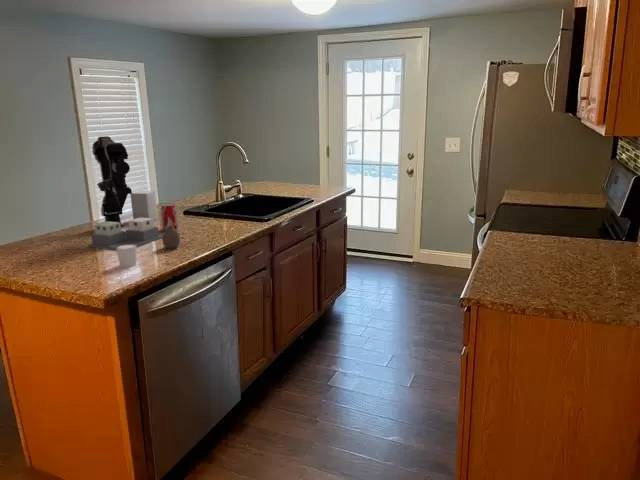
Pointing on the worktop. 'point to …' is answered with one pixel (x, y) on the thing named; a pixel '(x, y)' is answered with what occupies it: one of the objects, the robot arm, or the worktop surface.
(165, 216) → the soda can
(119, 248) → the shot glass
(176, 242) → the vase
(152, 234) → the board
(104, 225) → the grey-green block
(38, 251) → the worktop surface
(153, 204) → the supplement box
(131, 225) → the cream block with holes
